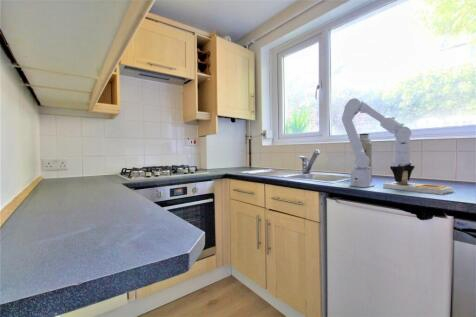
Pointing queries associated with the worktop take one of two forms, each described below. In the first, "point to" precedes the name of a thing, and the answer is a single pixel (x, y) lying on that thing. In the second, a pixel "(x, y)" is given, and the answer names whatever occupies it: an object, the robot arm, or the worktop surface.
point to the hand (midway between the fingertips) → (402, 181)
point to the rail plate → (420, 188)
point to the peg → (404, 178)
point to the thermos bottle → (367, 148)
